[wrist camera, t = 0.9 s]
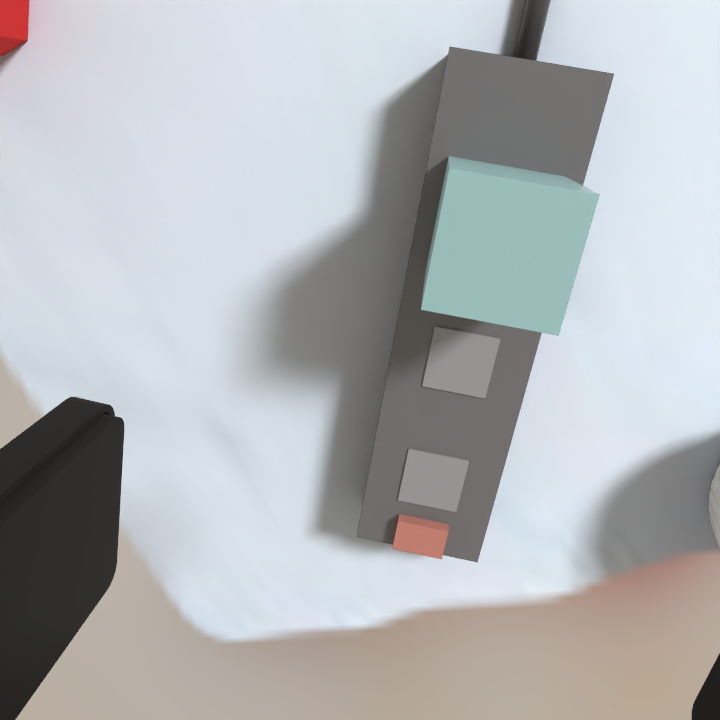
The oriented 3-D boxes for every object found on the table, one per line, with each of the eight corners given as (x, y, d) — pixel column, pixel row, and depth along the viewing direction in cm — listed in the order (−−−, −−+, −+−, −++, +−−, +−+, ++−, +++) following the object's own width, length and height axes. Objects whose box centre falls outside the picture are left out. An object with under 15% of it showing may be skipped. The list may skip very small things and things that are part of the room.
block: (448, 153, 27) (449, 167, 19) (556, 171, 27) (599, 194, 19) (427, 258, 29) (420, 309, 21) (528, 277, 28) (558, 335, 21)
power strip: (497, -203, 23) (506, -255, 20) (665, -178, 23) (702, -228, 20) (363, 502, 35) (354, 544, 31) (474, 525, 34) (477, 570, 31)
